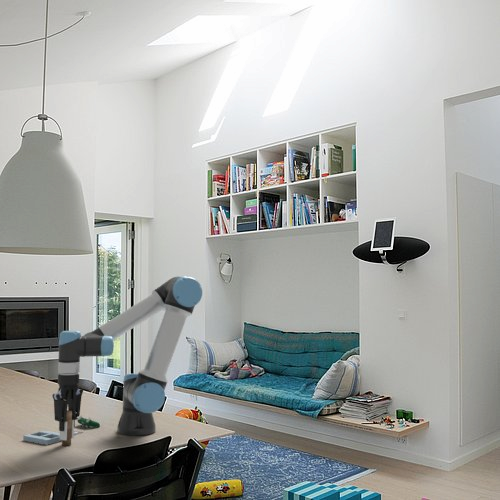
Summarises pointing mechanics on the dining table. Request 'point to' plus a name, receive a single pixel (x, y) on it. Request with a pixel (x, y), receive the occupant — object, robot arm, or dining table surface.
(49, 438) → the socket board
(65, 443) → the peg
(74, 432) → the card
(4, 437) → the dining table surface
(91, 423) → the gaming controller
